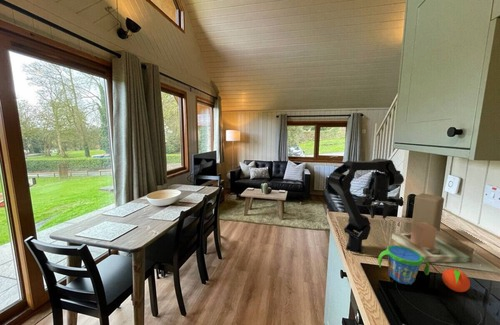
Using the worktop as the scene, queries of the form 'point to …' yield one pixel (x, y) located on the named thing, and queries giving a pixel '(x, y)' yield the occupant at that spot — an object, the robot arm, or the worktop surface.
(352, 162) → the robot arm
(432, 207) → the wooden block
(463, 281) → the clementine
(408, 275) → the snack cup
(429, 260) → the beige flat square piece
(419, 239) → the terracotta block
